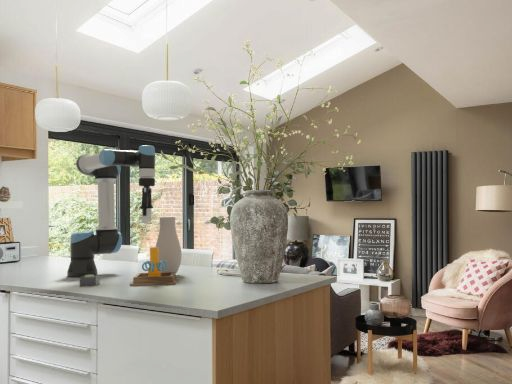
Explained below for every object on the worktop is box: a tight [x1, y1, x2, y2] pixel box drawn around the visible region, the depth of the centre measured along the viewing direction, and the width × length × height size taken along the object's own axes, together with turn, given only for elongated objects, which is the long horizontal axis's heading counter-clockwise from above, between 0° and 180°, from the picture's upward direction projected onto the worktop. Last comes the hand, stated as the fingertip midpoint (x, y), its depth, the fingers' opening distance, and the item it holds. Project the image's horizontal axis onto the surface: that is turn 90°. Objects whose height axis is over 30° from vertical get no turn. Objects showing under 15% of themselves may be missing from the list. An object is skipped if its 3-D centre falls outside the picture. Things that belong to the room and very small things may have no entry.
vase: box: [155, 216, 182, 275], centre depth 263 cm, size 14×14×30 cm
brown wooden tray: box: [129, 272, 179, 287], centre depth 237 cm, size 19×20×4 cm
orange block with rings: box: [141, 246, 167, 277], centre depth 237 cm, size 12×10×15 cm
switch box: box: [79, 274, 100, 288], centre depth 232 cm, size 7×7×4 cm
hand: (146, 222), depth 244 cm, fingers open, 13 cm apart
